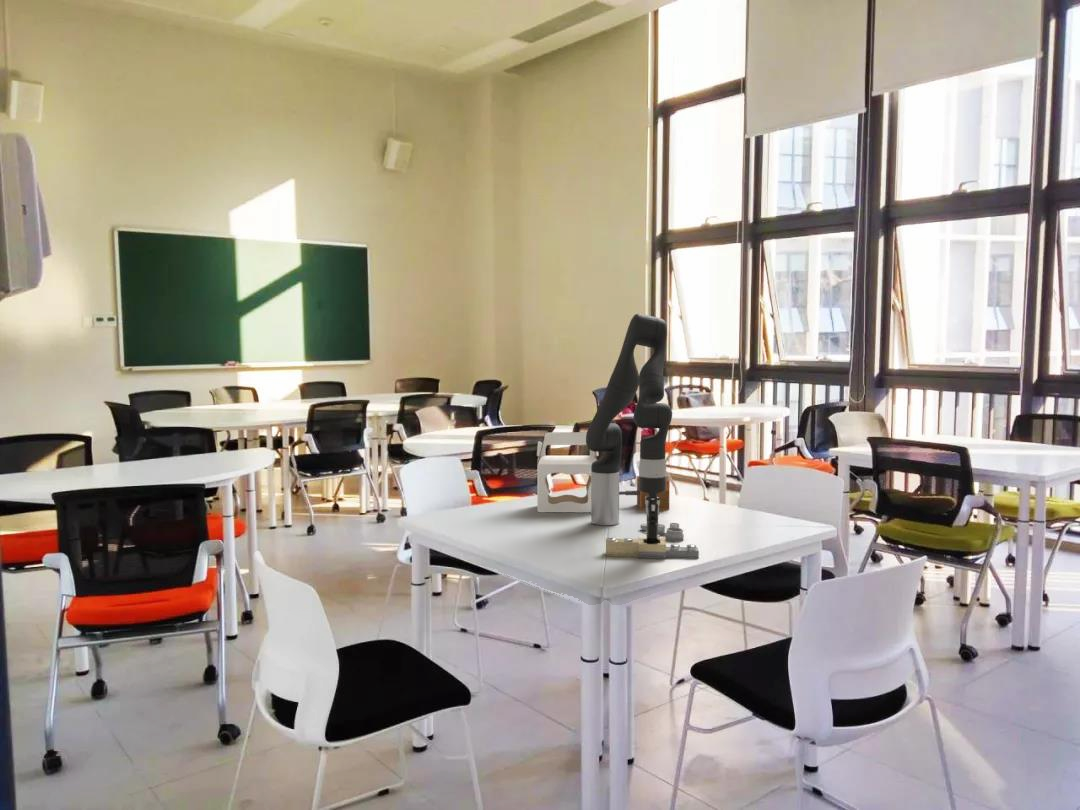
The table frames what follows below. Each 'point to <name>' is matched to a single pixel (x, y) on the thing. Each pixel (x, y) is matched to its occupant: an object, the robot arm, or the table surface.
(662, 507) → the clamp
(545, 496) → the white open frame
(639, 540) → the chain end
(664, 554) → the chain end
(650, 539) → the pin
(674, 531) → the pulley system
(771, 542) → the table surface
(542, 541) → the table surface
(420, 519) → the table surface
